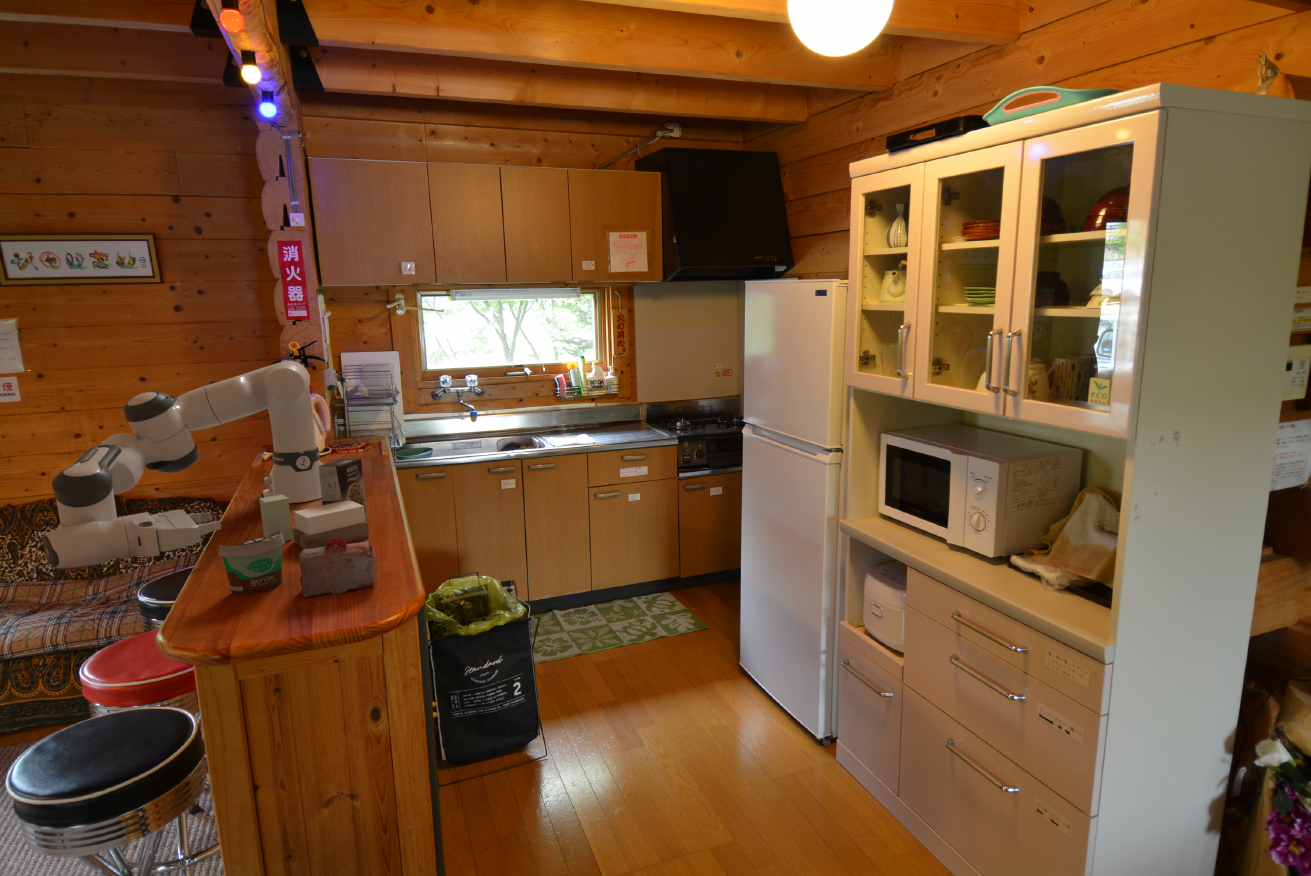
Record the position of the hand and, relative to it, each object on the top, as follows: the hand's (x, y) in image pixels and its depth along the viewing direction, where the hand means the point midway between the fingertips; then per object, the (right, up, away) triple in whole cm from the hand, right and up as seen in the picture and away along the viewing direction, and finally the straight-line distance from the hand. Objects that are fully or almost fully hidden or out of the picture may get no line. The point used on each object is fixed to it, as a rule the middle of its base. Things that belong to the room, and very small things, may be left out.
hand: (215, 520), depth 168 cm
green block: (+9, -6, +9) cm, 14 cm away
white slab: (+23, -2, +7) cm, 24 cm away
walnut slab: (+23, -6, +8) cm, 25 cm away
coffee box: (+21, -3, +20) cm, 29 cm away
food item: (+38, -11, -23) cm, 45 cm away
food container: (+22, -11, -21) cm, 33 cm away
